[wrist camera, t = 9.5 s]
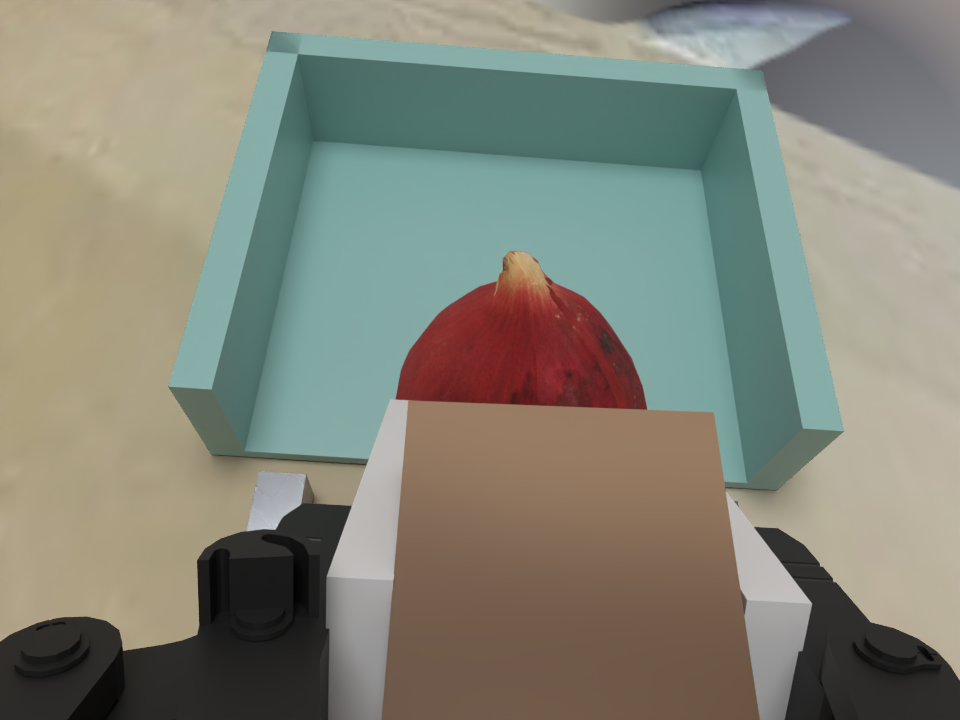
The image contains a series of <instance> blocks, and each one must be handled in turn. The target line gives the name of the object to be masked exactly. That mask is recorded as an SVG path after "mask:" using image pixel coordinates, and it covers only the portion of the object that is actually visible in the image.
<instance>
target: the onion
mask: <svg viewBox="0 0 960 720" xmlns="http://www.w3.org/2000/svg"><path fill="white" fill-rule="evenodd" d="M395 400H411V401H436V402H461V403H487V404H512V405H538V406H563V407H589V408H614V409H640V410H647V405H646V400H645V395H644V390H643V386H642V383H641V381H640V378H639V376H638V373H637V371H636V368H635V365H634V363H633V360H632V358H631V356H630V355H629V353H628V352H627V350H626V348H625V347H624V345H623V344H622V342H621V341H620V339H619V338H618V336H617V335H616V333H615V332H614V330H613V329H612V327H611V326H610V324H609V323H608V322H607V320H606V319H605V318H604V317H603V315H602V314H601V313H600V312H599V311H598V310H597V309H596V308H595V307H594V306H593V305H592V304H591V303H590V302H589V301H588V300H587V299H586V298H585V297H583V296H581V295H580V294H578V293H576V292H574V291H572V290H570V289H567V288H565V287H563V286H560V285H558V284H556V283H554V282H553V281H552V280H551V279H550V278H549V277H548V276H547V275H546V274H545V273H544V272H543V271H542V269H541V267H540V265H539V262H538V260H536V259H535V258H534V257H532V256H531V255H530V254H529V253H526V252H522V251H509V252H508V253H507V254H506V255H505V257H504V258H503V271H502V272H501V273H500V274H499V277H498V281H496V282H492V283H489V284H486V285H482V286H479V287H477V288H476V289H474V290H472V291H471V292H469V293H467V294H466V295H464V296H463V297H461V298H459V299H458V300H456V301H455V302H453V303H452V304H450V305H449V306H447V307H446V308H445V309H443V310H442V311H441V312H440V313H438V315H437V316H436V317H435V318H434V319H433V321H432V322H431V323H430V324H429V326H428V327H427V328H426V329H425V331H424V332H423V333H422V335H421V336H420V337H419V339H418V340H417V341H416V342H415V344H414V345H413V346H412V348H411V349H410V350H409V352H408V354H407V357H406V359H405V361H404V364H403V366H402V368H401V372H400V377H399V383H398V388H397V394H396V399H395Z"/></svg>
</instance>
